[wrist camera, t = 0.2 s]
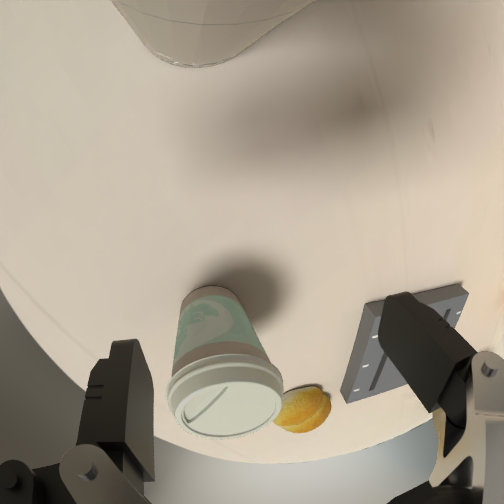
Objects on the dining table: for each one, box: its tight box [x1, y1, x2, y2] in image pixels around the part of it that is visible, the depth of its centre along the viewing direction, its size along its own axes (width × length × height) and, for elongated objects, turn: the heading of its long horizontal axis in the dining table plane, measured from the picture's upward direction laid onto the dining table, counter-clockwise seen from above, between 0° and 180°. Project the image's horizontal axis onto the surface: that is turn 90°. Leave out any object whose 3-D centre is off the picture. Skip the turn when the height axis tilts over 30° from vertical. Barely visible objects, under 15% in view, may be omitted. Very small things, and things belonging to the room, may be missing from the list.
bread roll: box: [273, 386, 331, 433], centre depth 39 cm, size 8×9×4 cm
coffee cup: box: [166, 286, 284, 439], centre depth 25 cm, size 8×9×12 cm
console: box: [340, 284, 469, 404], centre depth 38 cm, size 16×16×3 cm
